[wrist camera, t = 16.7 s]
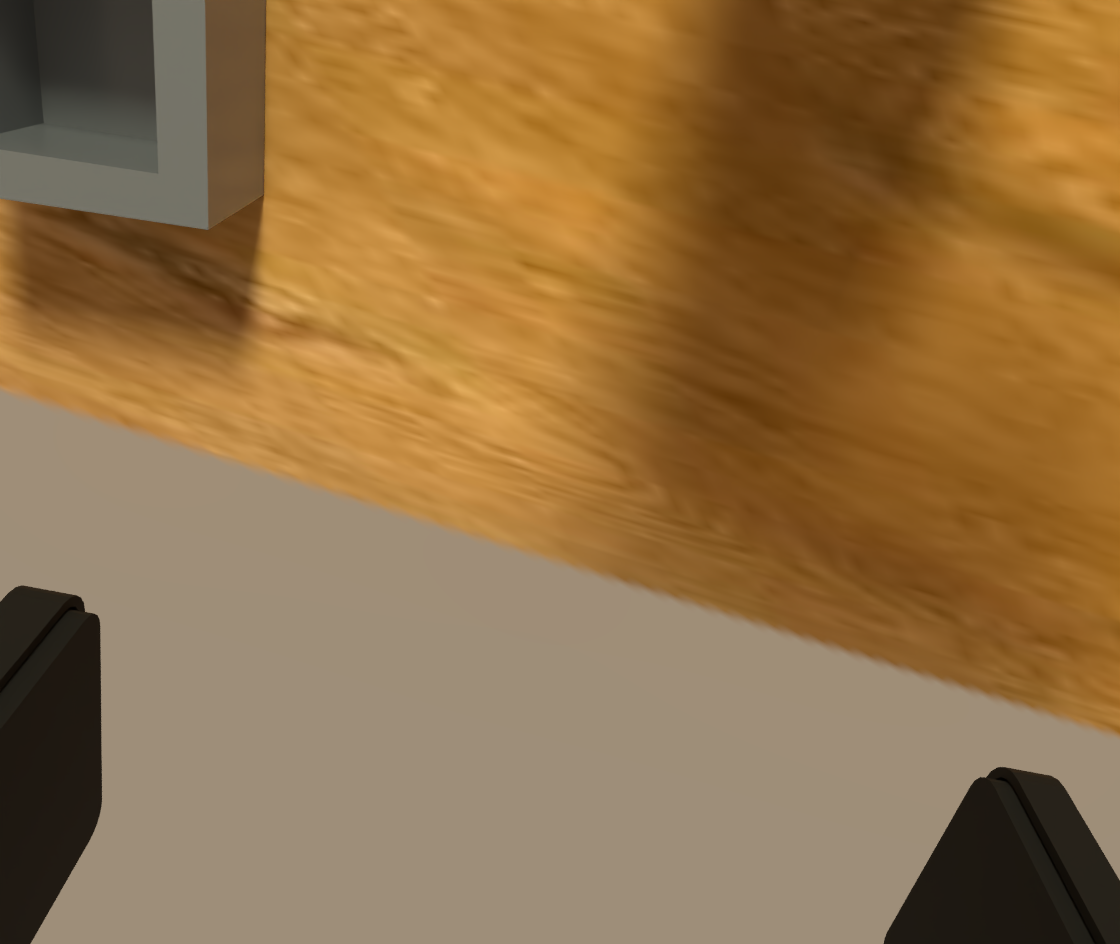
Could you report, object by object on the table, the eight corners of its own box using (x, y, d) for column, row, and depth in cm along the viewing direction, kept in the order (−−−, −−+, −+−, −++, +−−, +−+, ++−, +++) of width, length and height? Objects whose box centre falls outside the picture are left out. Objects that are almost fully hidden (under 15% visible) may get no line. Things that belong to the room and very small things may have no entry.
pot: (-13, -129, 31) (-135, -156, 26) (266, -82, 31) (203, -99, 26) (16, 156, 35) (-85, 185, 30) (263, 194, 35) (208, 229, 30)
